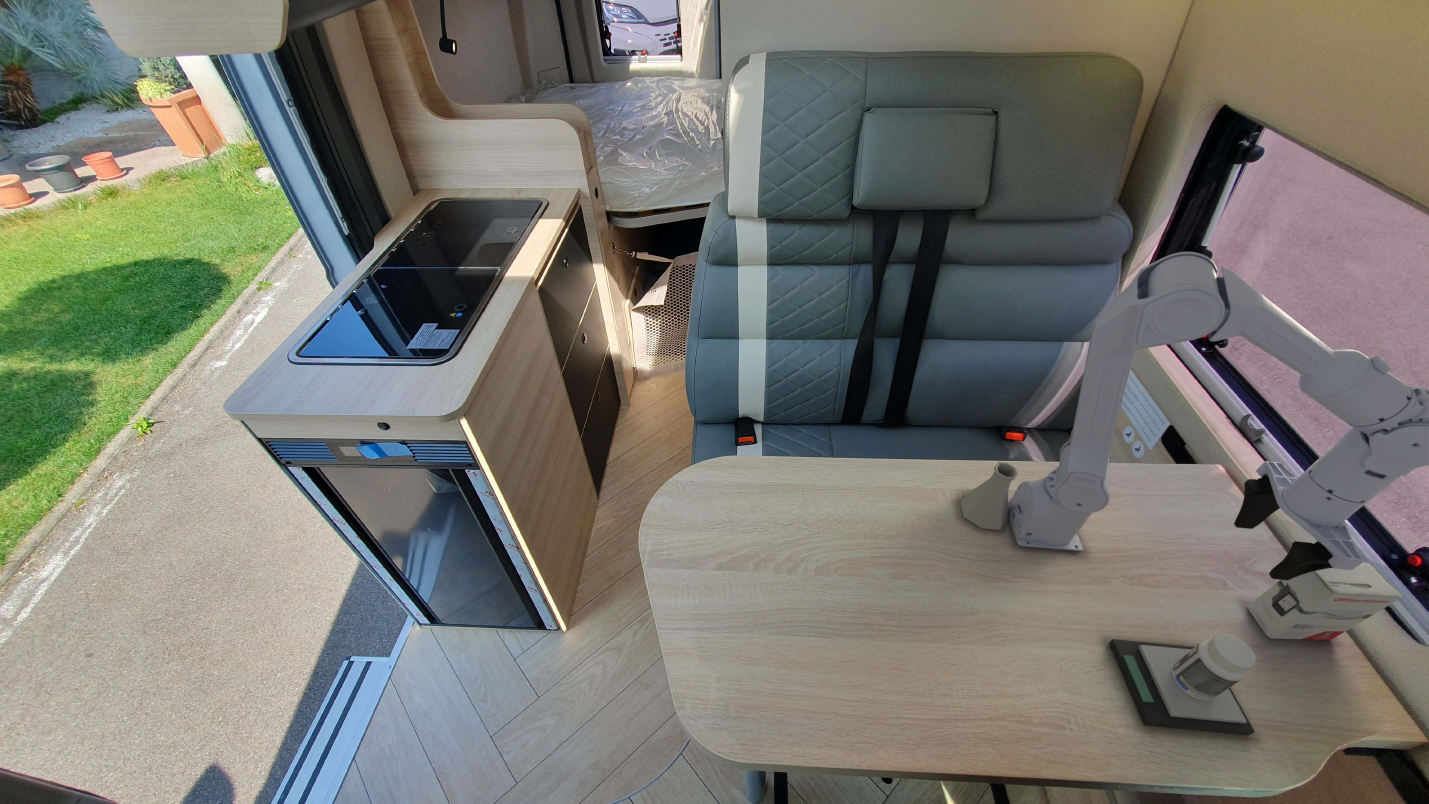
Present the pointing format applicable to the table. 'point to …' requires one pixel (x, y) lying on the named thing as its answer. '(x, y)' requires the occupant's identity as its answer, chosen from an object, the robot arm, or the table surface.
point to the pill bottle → (1213, 666)
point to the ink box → (1322, 603)
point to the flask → (990, 499)
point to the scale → (1173, 691)
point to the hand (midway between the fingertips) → (1259, 550)
